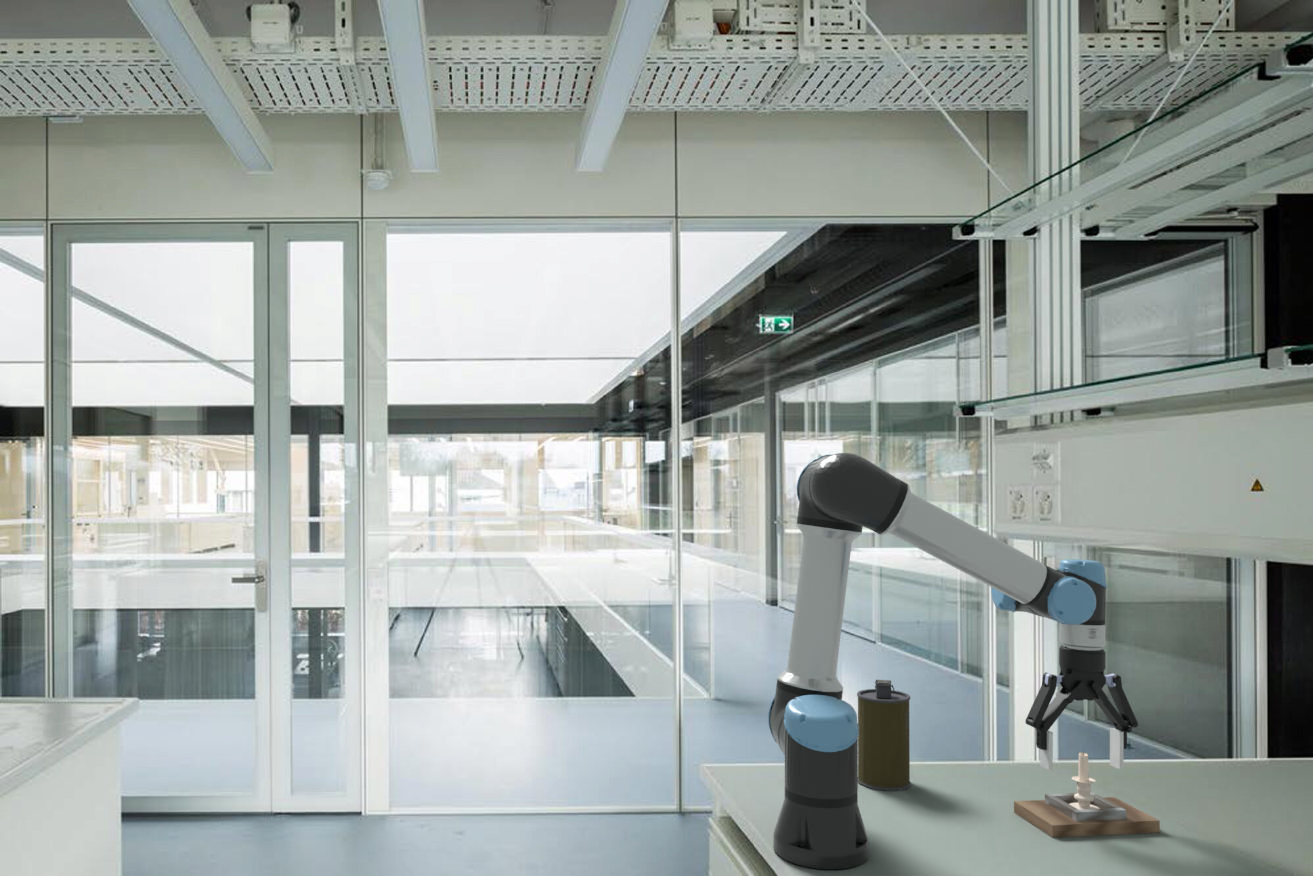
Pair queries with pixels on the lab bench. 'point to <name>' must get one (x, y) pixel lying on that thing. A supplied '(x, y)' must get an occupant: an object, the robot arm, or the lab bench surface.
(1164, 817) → the lab bench surface
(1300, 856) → the lab bench surface
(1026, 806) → the board
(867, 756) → the canister
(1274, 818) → the lab bench surface
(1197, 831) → the lab bench surface
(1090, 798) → the candle
